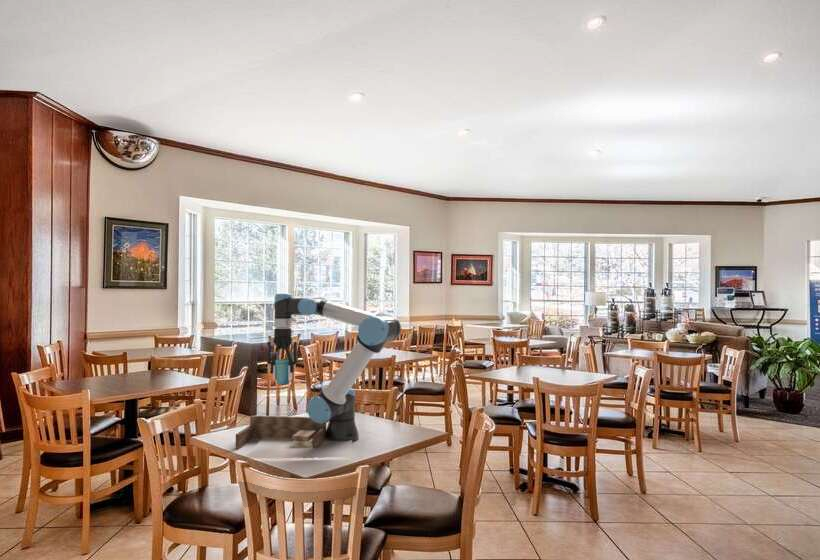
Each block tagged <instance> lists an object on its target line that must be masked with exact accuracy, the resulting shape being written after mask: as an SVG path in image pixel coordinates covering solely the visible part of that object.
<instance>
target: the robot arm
mask: <svg viewBox="0 0 820 560" xmlns="http://www.w3.org/2000/svg"><path fill="white" fill-rule="evenodd" d="M273 304H274V321H273V322H274V325H273V326H274V329H273V334H274V335H273V336H274V337H273V340H270V341H267V357H266V359H267V361H266V363H267V364H268V365H270V366H271V370H270V372H271V373H273V375H272V380H273V381H277V379H276V365H275V360H277V356H276V353H274V354H271V355H270V353H271V352H273V348H274V347H273V345H275V349H274V351H276V352H277V353H278V355H279V353H280V351H281V350H284V351H285V354H286V353H287V356H288V359H289V363H290V365H289V366H288V380H289V381H291V380H292V379H293V377H292V376H293V375H292V374H293V373H294V372H295V365H297V364H299V353H298V351H299V350H298V345H299V341H295V340H293V338H292V316H313V315H318V316H321V317H325V318H329V319H332V320H335V321H338V322H341V323H345V324H347V325H350V326H355V327H358V329H357V330H358V334H356V336H355V338H356V339H355V340H356V343H355V345H354V347H352V349H351V351H350V352H349V353H348V355H347V357H345V359H344V361H343V362H342V364H341V365H340V367H339V369H338V370H337V372H336V373H335V375H334V376H333V377H332V379H331V380H330V382H329V384H327V385H323V386H322V388H321V389H320V391H318V394H316V395H314V396H313V397H311V398H310V399H309V400H308V401H307V404H306V410H307V414H308V417H310V418H311V419H312V420H313V421H314V422H316V423H318V424H322V423H326V424H327V423H328V424H327V425H326V436H325V440H328V441H333V442H334V441H335V442H345V441H351V442H355V441H357V440H359V432H358V431H359V430H358V428H357V425H356V418H355V417H356V416H355V415H356V404H355V403H356V393H355V389H354V388H353V385H354V384H355V383H356V381H357V379H358V378H359V376H360V375H361V374H362V372H363V371H364V369H365V368H366V367H367V364H369V362H370V361H371V359H372V358H373V356H374V355H375V354H380V352H381V351H382V350H383V348H384V346H385V345H386V344H387V343H391V342H394V341H395V340H397V339H398V338H399V337H400V334H401V333H402V326H401V323H400V320H398V318H397V317H396V316H394V315H392V314H384V313H382V312H376V313H374V312H369V311H365V310H361V309H359V308H355V307H352V306H349V305H344V304H341V303H338V302H334V301H331V300H329V299H328V298H324V297H293V295H292V293H276V294H275V295H274V302H273ZM291 345H292V346H293V347H292V350H293V351H292V350H291V347H290V346H291ZM291 352H293V355H294V361H293V358H292V354H291Z"/></svg>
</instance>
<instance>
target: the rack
mask: <svg viewBox="0 0 820 560" xmlns="http://www.w3.org/2000/svg"><path fill="white" fill-rule="evenodd" d="M326 429H327V423H322V424H318V423H316V422H314V421H313V420H312V419H311V418H310V417H309V416H286V415H285V416H279V415H278V416H276V415H275V416H274V415H250V416H249V425H248V426H246V427H245V428H244V429H242V430H240V431H239V432H237V433H236V434H235V450H240V449H241V448H243V447H244V446H246V443H247V444H248V443H250V442H251V441H252V440H262V439H263V438H291V439H293V435H294V434H296V433H297V432H299V431H300V430H316V434H315V435H314V436H313V446H312V449H315V450H316V449H317V448H319V446H320V445H321V444H322V442H323V441H324V440H326V438H325V436H326ZM249 441H250V442H249ZM239 448H240V449H239Z"/></svg>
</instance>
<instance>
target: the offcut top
mask: <svg viewBox="0 0 820 560" xmlns="http://www.w3.org/2000/svg"><path fill="white" fill-rule="evenodd" d="M315 434H316V430H300V431H299V432H297V433H296V434H294V435H293V438H292V442H293V441H310V440H311V439H312V438H313V436H314V435H315Z"/></svg>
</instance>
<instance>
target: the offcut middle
mask: <svg viewBox="0 0 820 560" xmlns="http://www.w3.org/2000/svg"><path fill="white" fill-rule="evenodd" d="M292 444H293V446H312V445H313V438H312V439H311V440H310V441H293V440H292ZM312 447H313V446H312Z"/></svg>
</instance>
